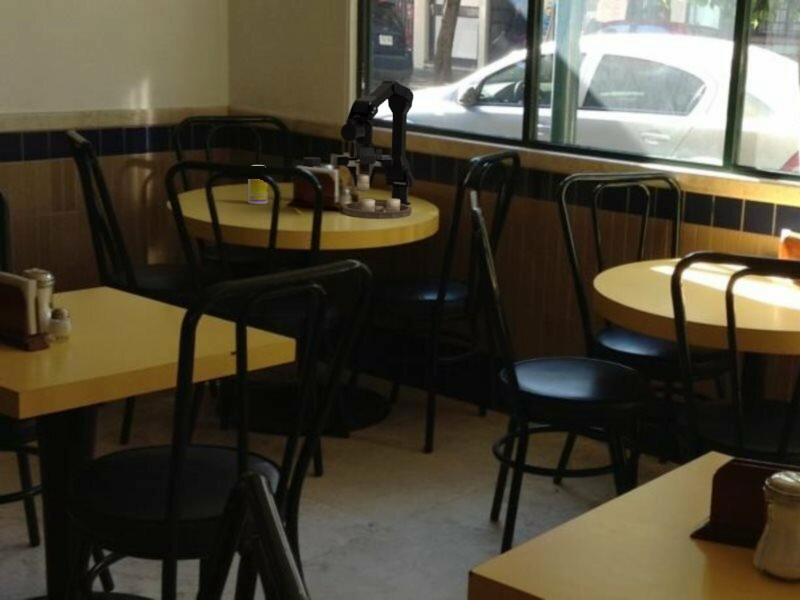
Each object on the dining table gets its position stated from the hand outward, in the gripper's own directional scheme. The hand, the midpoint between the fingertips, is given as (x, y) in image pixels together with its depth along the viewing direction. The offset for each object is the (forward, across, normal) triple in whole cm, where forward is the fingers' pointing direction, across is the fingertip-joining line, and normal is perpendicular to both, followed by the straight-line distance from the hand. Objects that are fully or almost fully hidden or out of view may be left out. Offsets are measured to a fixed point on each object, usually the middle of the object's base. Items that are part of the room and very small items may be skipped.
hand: (362, 186), depth 423 cm
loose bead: (+1, 0, 0) cm, 1 cm away
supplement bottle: (+9, -31, +23) cm, 39 cm away
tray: (+9, +4, -4) cm, 11 cm away
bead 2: (+8, +8, -8) cm, 14 cm away
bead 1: (+8, 0, -8) cm, 12 cm away
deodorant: (+9, -12, +26) cm, 30 cm away
